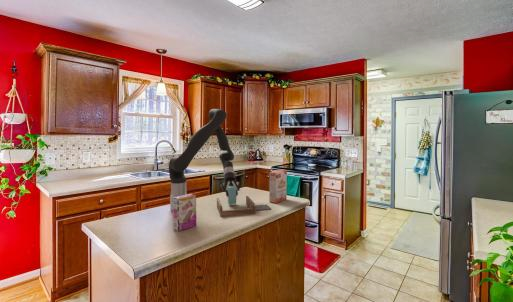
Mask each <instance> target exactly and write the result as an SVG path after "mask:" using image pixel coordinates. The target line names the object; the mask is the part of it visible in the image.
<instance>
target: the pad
mask: <svg viewBox="0 0 513 302" xmlns="http://www.w3.org/2000/svg"><path fill="white" fill-rule="evenodd" d="M254 208H255V212H258V211H259V212H260V211H269V210H272V208H271V207H270V206H269V205H268V204H267V203H266V204H258V205H257V204H254Z"/></svg>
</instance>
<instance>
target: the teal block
mask: <svg viewBox="0 0 513 302" xmlns="http://www.w3.org/2000/svg"><path fill="white" fill-rule="evenodd" d="M236 187H237V185H236V186H228V195H229V196H228V197H227V204H228V205H235V204H237V196H236Z"/></svg>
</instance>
